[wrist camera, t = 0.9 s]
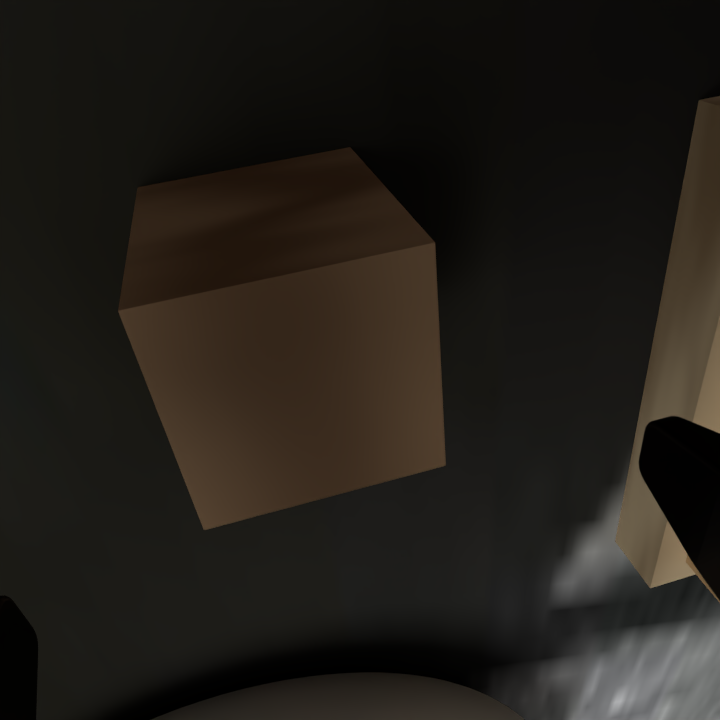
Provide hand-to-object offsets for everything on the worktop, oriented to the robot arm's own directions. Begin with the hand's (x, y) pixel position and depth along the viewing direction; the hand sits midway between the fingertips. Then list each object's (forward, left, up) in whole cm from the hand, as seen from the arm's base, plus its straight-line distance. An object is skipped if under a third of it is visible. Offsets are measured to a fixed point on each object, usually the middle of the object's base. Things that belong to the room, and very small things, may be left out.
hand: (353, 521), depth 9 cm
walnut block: (0, 0, -9) cm, 9 cm away
